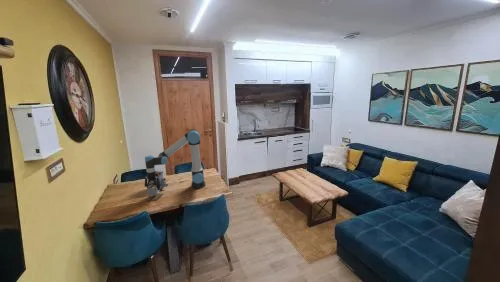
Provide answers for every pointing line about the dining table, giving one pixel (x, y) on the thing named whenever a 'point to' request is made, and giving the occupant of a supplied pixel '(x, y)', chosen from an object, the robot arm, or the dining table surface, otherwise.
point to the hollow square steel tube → (152, 190)
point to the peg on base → (154, 196)
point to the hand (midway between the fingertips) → (153, 192)
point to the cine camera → (161, 179)
